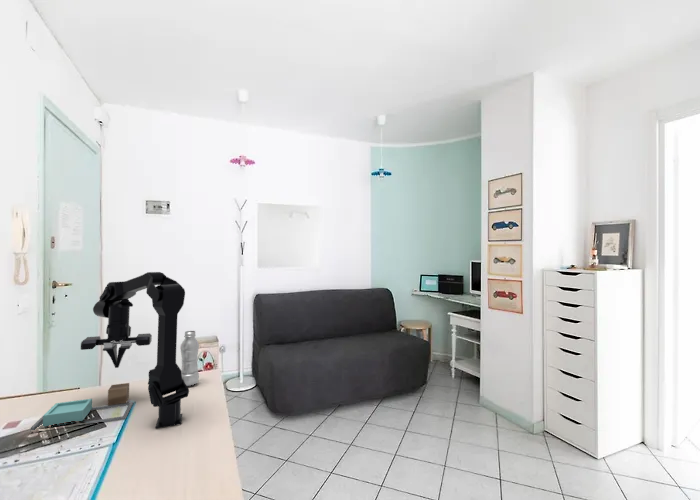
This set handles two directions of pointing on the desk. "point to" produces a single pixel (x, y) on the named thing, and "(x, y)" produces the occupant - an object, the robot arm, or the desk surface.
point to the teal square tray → (67, 412)
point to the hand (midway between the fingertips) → (117, 367)
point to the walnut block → (118, 393)
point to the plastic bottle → (189, 358)
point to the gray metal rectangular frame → (97, 409)
